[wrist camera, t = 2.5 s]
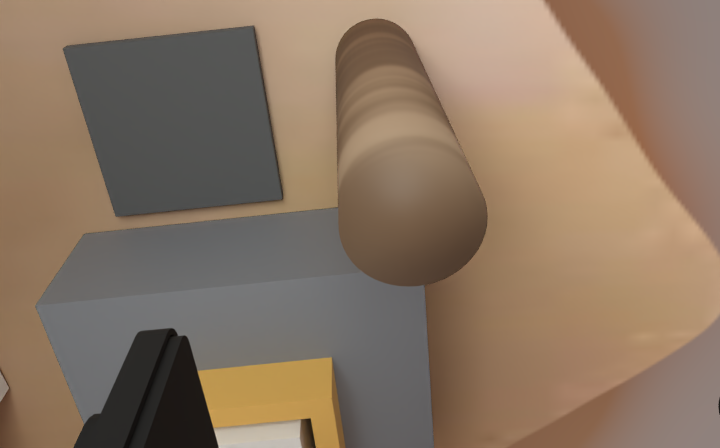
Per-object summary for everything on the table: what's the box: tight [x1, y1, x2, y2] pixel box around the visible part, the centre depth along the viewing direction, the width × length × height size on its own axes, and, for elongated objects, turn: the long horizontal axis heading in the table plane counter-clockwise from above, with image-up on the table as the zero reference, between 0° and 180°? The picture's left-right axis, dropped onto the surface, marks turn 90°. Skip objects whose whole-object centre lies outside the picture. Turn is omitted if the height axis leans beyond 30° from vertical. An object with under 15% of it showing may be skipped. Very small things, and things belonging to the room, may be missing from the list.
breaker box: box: [35, 208, 434, 448], centre depth 32 cm, size 16×16×8 cm
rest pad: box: [63, 26, 283, 217], centre depth 29 cm, size 8×8×1 cm
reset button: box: [214, 418, 316, 448], centre depth 30 cm, size 4×4×6 cm
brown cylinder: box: [336, 19, 487, 287], centre depth 22 cm, size 4×4×15 cm
